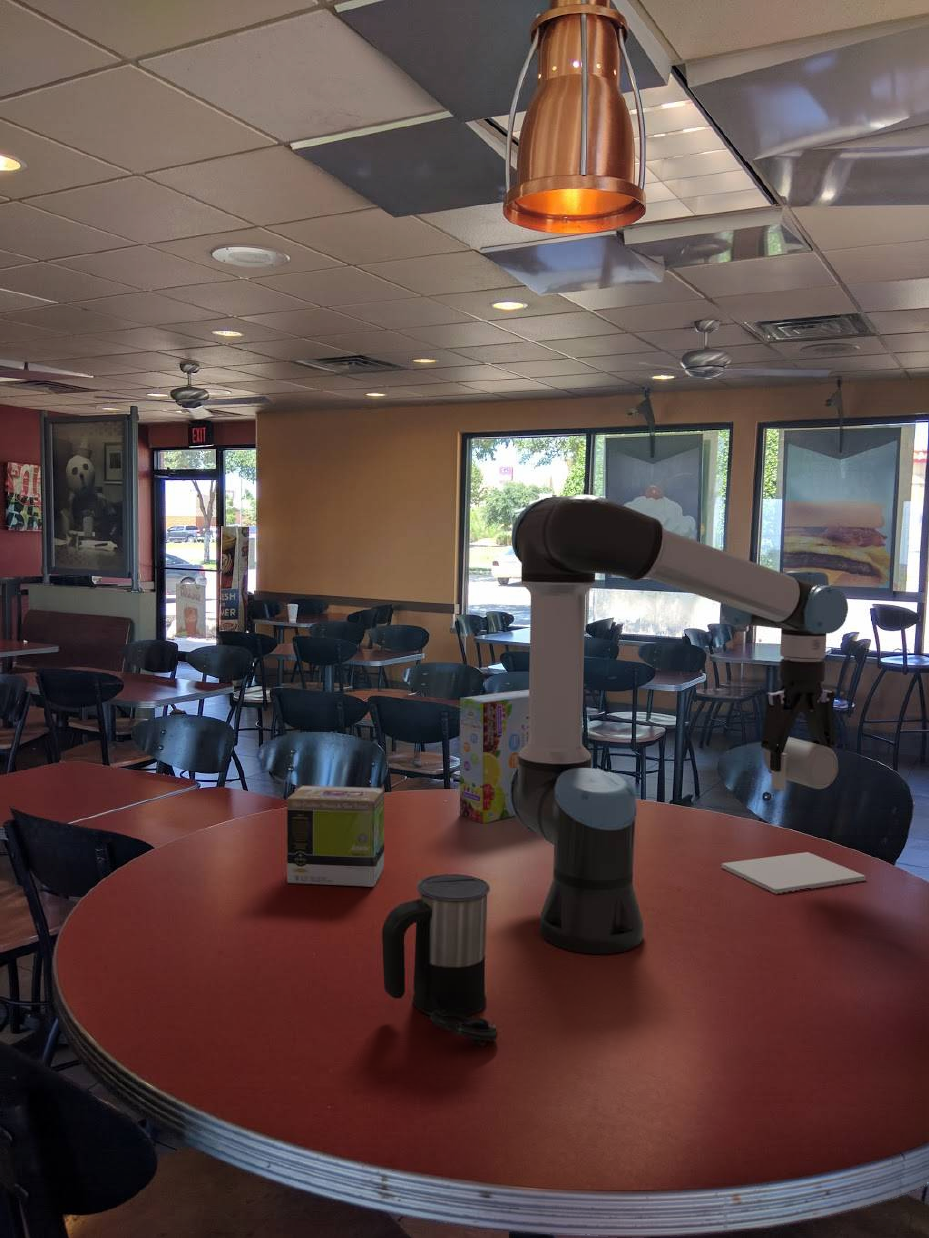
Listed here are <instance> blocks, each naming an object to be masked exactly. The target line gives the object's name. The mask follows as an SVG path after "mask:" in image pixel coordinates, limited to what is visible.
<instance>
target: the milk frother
mask: <svg viewBox="0 0 929 1238" xmlns="http://www.w3.org/2000/svg"><path fill="white" fill-rule="evenodd" d="M416 889H417V891H418V892H419V893H418V894H419V895H418V899H415V900H409V901H406V902H402V903H400V904H398V905H397V906H395V907H394V908H392V909H391V910H390V912H389V913H388V914H387V917H386V918H385V920H384V922H383V925H382V931H381V933H382V934H381V942H382V943H381V944H382V964H383V965H382V966H383V987H384V990H385V992H386V993H387V994H388V995H389V996H391V998H393V999H398V1000H399V999H401V998H403V997H404V996H405V992H406V986H405V985H406V981H405V980H406V975H405V974H406V973H405V972H406V970H405V969H406V968H405V967H406V966H405V965H406V964H405V935H406V932H407V931H408V929H409V928H410V927H411V926H412V925H414V924H415V940H414V941H415V943H414V945H415V946H414V968H413V969H414V970H413V971H414V972H413V991H414V992H413V995H412V1002H413V1005H414V1006H415V1007H416V1009H418V1011H421V1012H423V1013H424V1014H427V1015H429V1019H430V1021H432V1023H434V1024H435V1025H436V1026H438V1027H439V1028H441V1029H444V1030H447V1031H449V1032H452V1033H455V1034H458V1035H460V1036H463V1037H466V1038H468V1039H470V1040H473V1041H475V1042H477V1043H478V1044H481V1045H484V1044H485V1042H486V1041H488V1042H489V1041H491V1042H492V1041H495V1040H496V1039H497V1038H498V1033H499V1032H498V1030H497V1028H496V1025H495V1024H492V1025H491V1024H490V1022H489V1020H487V1019H485V1018H483V1017H481V1016H479V1017H478V1018H475V1017H474V1018H473V1017H470V1016H472V1015H475V1014H477V1013H479V1012H481V1011H482V1010H483V1009H484V1008H485V1007H486V1005H487V1001H488V1000H487V997H486V994H485V993H486V989H485V986H486V983H485V982H486V980H485V979H486V977H485V974H486V972H485V970H486V968H485V967H486V946H487V945H486V944H487V943H486V941H487V920H488V919H487V918H488V916H487V914H488V911H487V909H488V894H489V893H490V891H491V887H490V885H489V883H488V882H487V881H485V880H483V879H482V878H479V877H475V876H472V875H471V876H470V875H466V874H457V873H456V874H455V873H454V874H452V873H450V874H448V873H445V874H437V875H432V876H428V877H425V878H423V879H421V880H419V881H418V882H417V884H416Z"/></svg>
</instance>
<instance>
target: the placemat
mask: <svg viewBox="0 0 929 1238" xmlns="http://www.w3.org/2000/svg"><path fill="white" fill-rule="evenodd" d="M721 869H724V870H725V871H727V872H729V873H731V874H733V875H735V876H738V877H740V878H742V879H743V878H744V880H745V879H746V880H745V881H747V882H750V883H751V884H753V885H756V886H758V887H760V888H762V889H764V888H765V889H764V890H766V889H767V890H766V891H768V890H769V892H770V891H771V892H770V893H771V894H774V893H775V894H774V895H778V893H779V894H783V892H785V893H789V892H788V891H792V892H796V891H795V890H798V891H800V890H799V889H805V888H811V889H816V888H824V887H830V886H836V885H837V884H838V885H843V883H844V884H849V883H856V882H857V881H858V882H863V881H866V875H864V874H862V873H860V872H856V871H855V870H852V869H851V868H847V867H845V866H843V865H840V864H838V863H836V862H833V861H831V860H828V859H825V858H823V857H821V856H818V855H816V854H813V853H810V852H809V851H806V852H805V851H804V852H799V853H790V854H784V855H783V854H782V855H776V856H768V857H761V858H752V859H744V860H738V861H730V862H723V863H721ZM858 882H857V883H858ZM805 890H806V889H805Z"/></svg>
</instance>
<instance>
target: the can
mask: <svg viewBox="0 0 929 1238" xmlns="http://www.w3.org/2000/svg"><path fill="white" fill-rule="evenodd" d="M777 746H778V744H777ZM783 753H785V754H787V770H786V781H787V780H788V781H791V782H793V783H796V784H800V785H803V786H805V787H809V788H812V789H816V790H822V789H825V788H828V787H829V786H830V785H831V784H832V783H833V781H834V780H835V779H836V777H837V774H838V772H839V762H838V757H837V755H836V753H835V751H834V750H833V749H832V747H831V748H829V747H826V746H823V745H819V744H815V743H812V741H807V740H803V739H799V738H795V737H791V736H789V737H788V740H787V743H786V746H785V748H784V751H783ZM763 760H764V762H763V763H764V764H765V766H766V768H767V769H768V770H769V772H770V773H771V774H772V770H770V751H769V750H766V749H764V753H763Z"/></svg>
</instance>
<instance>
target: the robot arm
mask: <svg viewBox="0 0 929 1238" xmlns="http://www.w3.org/2000/svg"><path fill="white" fill-rule="evenodd" d="M510 540H511V547H512V551H513V553H514V555H515V557H516V558H517V560H518V561H519V562H520V563H521V574H520V575H521V581H520V582H521V585H523V587H524V588H525V589H526V590H527V591H528V592H529V594H530V610H529V611H530V614H529V615H530V620H529V621H530V623H529V624H530V625H529V626H530V627H529V629H530V630H529V673H528V674H529V675H528V676H529V679H528V680H529V681H528V682H529V683H528V684H529V685H528V690H529V730H528V743H527V744H526V745H525V746H524V747H523V748H522V749H521V750H520V751H519V755H518V766H517V768H516V770H515V771H514V772H513V773H512V775H511V777H510V780H509V783H508V801H509V804H510V807H511V809H512V811H513V813H514V814H515V816H514V817H516V819H518V821H520V823H521V824H522V825H523V826H524V827H526V829H528V830H529V831H530V832H533V833H534V834H535V835H538V836H540V837H541V838H542V839H544V840H546V841H547V842H548V843H550V844H551V845H553V870H552V871H553V873H552V881H551V884H550V887H549V890H548V892H547V895H546V898H545V901H544V904H543V906H542V909H541V913H540V916H539V933H540V935H541V936H542V938H544V939H545V940H546V941H547V942H549V943H550V944H552V945H554V946H556V947H559V948H561V949H565V950H567V951H572V952H575V953H576V952H577V953H583V954H590V955H591V954H592V955H593V954H594V955H607V954H608V955H609V954H618V953H623V952H627V951H630V950H632V949H634V948H636V947H638V946H640V944H641V943H642V941H643V939H644V919H643V918H642V914H641V910H640V906H639V902H638V899H637V896H636V892H635V889H634V881H633V878H634V860H635V859H634V856H635V855H634V854H635V835H636V834H635V831H636V818H637V801H636V792H635V789H634V787H633V786H634V785H632V784H631V782H630V781H628V779H626V778H625V777H623V776H622V775H620V774H617V773H615V772H612V771H604V770H603V769H599V768H592V753H590V751H589V750H588V749H587V748H586V747H585V746H584V745H583V715H584V714H583V711H584V710H583V707H584V703H583V702H584V667H585V666H584V663H585V662H584V661H585V659H584V658H585V627H586V626H585V622H586V621H585V620H586V619H585V617H586V616H585V614H586V595H587V593H588V592H589V591H590V590H591V589H592V588H593V587H594V586H595V585H596V574H600V575H601V574H602V575H613V576H617V577H622V578H625V579H629V580H632V581H634V582H635V581H636V582H637V581H638V582H640V581H642V580H643V579H645V578H646V579H649V580H652V581H655V582H658V583H661V584H664V585H667V586H669V587H673V588H676V589H679V590H682V591H684V592H688V593H691V594H693V595H696V596H699V597H702V598H705V599H708V600H712V601H714V602H717V603H720V609H721V613H722V616H723V618H724V620H725V621H726V622H727V623H728V624H729V625H732V626H741V627H746V628H747V627H748V626H751V627H753V626H754V627H763V628H764V627H765V628H771V629H772V628H773V629H780V630H781V631H780V632H781V635H780V650H779V655H780V656H781V657H783V658H782V659H780V661H779V674H778V675H779V679H780V682H781V686H780V688H779V690H778V691H776V692H767V693H766V694H765V700H766V701H765V703H766V708H765V709H766V711H765V716H764V720H763V721H764V722H763V727H762V728H763V730H762V734H761V740H760V747H761V748H762V749H764V750H765V749H766V750H769V751H770V770H772V773H771V789H775V790H778V791H779V792H786V789H787V788H786V787H787V786H786V785H787V779H786V770H787V754H785V753H783V751H784V748H785V746H786V743H787V740H788V737H790V734H791V731H792V728H793V725H794V723H795V720H796V719H797V718H799V716H800V713H802V715H803V716H804V718H805V722H806V725H807V729H808V730H807V731H808V732H809V736H810V740H811V741H810V742H811V743H815V744H819V745H823V746H826V747H829V748H831V749H832V747H834V746H835V745H836V743H837V740H836V725H835V723H836V722H835V709H834V704H835V700H836V699H835V698H836V692H835V691H832V690H827V689H823V687H822V683H823V682H824V681H825V679H826V678H825V676H826V673H825V672H826V663H825V661H824V660H822V659H825V658H826V651H827V634H832V633H834V632H835V633H836V632H837V631H838V630H840V629H841V627H842V626H843V625H844V624H845V622H846V621H847V617H848V613H849V606H848V605H849V603H848V600H847V598H846V597H847V596H846V595H845V594H844V593H843V591H841V589H839V588H837V587H835V586H830V585H829V584H830V583H829V581H830V580H829V576H828V575H827V573H825V572H824V571H813V570H811V571H809V570H805V571H804V570H787V571H785V572H784V573H782V572H780V571H777V570H775V569H772V568H770V567H767V566H764V565H761V564H758V563H755V562H753V561H750V560H747V559H746V558H743V557H739V556H737V555H735V554H732V553H729V552H726V551H724V550H720V549H718V548H716V547H713V546H710V545H708V544H705V543H702V542H699V541H697V540H695V539H692V538H689V537H686V536H683V535H681V534H677V533H676V532H672V531H671V530H669V529H668V530H667V529H665V528H664V525H663V523H662V522H661V520H659V519H657V518H656V517H652V516H650V515H647V514H645V513H642V512H640V511H638V510H635V509H632V508H631V507H627V506H625V505H623V504H621V503H618V502H615V501H612V500H610V499H608V498H605V497H601V496H597V495H594V494H575V495H565V496H548V497H546V498H543V499H540V500H537V501H534V502H533V503H530V504H529V505H528V506H526V507H525V508H523V510H522V511H521V512H520V513H519V514H518V515H517V517H516V520H515V521H514V523H513V526H512V531H511V539H510ZM777 744H778V746H777ZM770 770H769V771H770Z"/></svg>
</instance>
